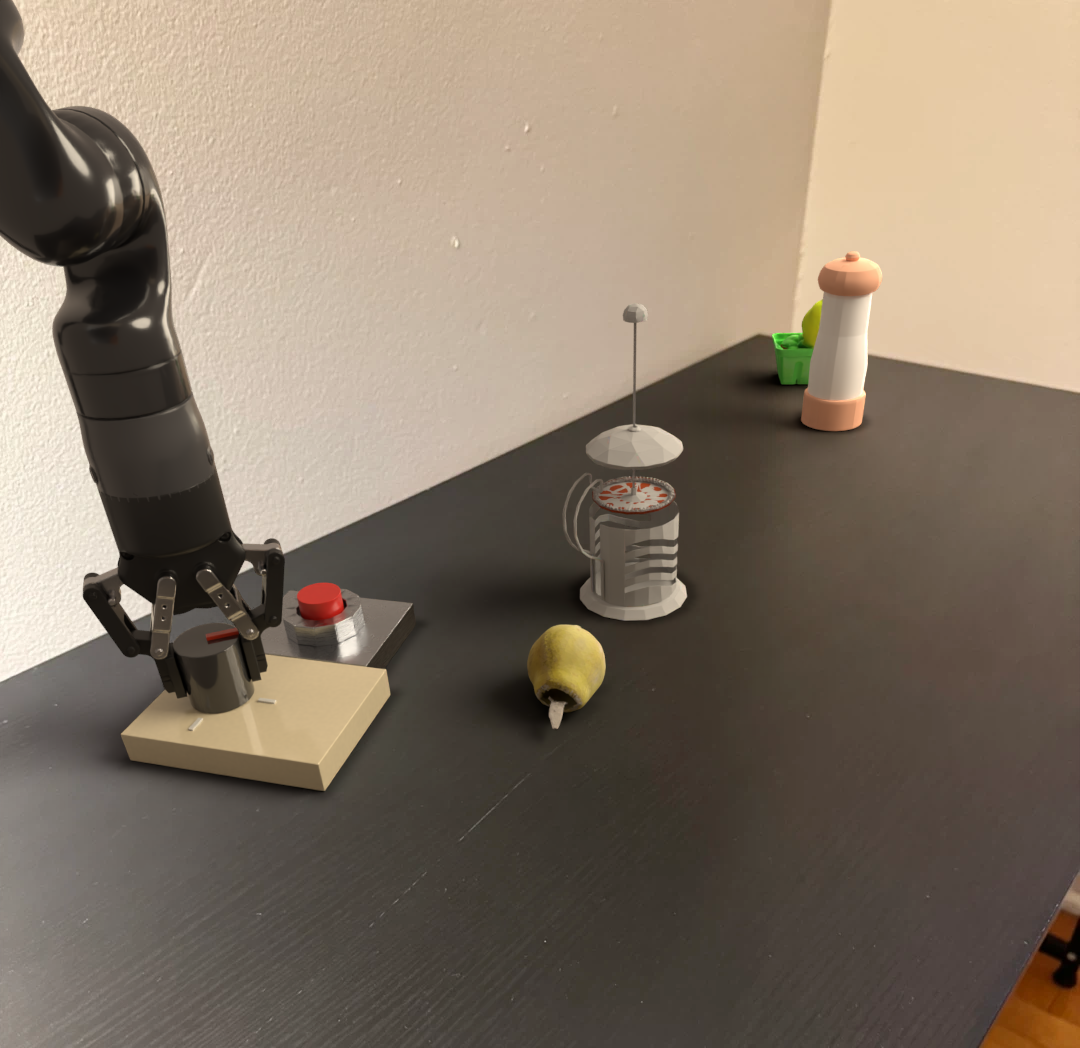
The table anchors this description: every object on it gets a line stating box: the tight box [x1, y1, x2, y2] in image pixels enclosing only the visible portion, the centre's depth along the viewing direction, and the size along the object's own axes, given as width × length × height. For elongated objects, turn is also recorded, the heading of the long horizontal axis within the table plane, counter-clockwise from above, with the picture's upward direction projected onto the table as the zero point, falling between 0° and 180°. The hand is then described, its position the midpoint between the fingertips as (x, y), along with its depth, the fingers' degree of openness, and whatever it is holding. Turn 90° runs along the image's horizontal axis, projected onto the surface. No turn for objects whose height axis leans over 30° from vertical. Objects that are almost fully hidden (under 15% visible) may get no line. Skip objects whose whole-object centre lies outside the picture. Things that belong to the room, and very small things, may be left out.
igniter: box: [261, 588, 417, 669], centre depth 83 cm, size 12×10×4 cm
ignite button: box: [297, 582, 344, 621], centre depth 82 cm, size 4×4×2 cm
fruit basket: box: [771, 298, 823, 385], centre depth 129 cm, size 11×9×11 cm
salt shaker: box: [800, 250, 883, 432], centre depth 115 cm, size 7×7×19 cm
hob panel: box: [120, 654, 391, 792], centre depth 75 cm, size 16×12×3 cm
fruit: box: [526, 624, 607, 731], centre depth 75 cm, size 6×6×10 cm
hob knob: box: [173, 622, 254, 713], centre depth 73 cm, size 5×5×5 cm
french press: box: [562, 303, 688, 622], centre depth 81 cm, size 10×12×25 cm
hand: (218, 683), depth 74 cm, fingers closed on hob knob, 5 cm apart
